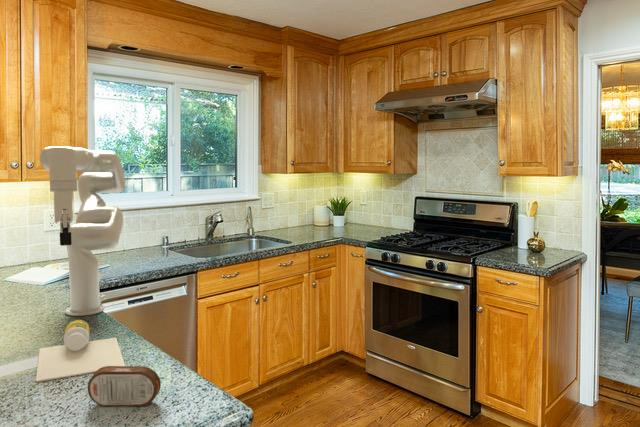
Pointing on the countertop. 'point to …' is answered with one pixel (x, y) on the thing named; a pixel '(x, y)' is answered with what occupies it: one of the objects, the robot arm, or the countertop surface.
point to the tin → (124, 386)
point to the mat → (77, 359)
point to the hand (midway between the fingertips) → (65, 244)
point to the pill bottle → (76, 335)
